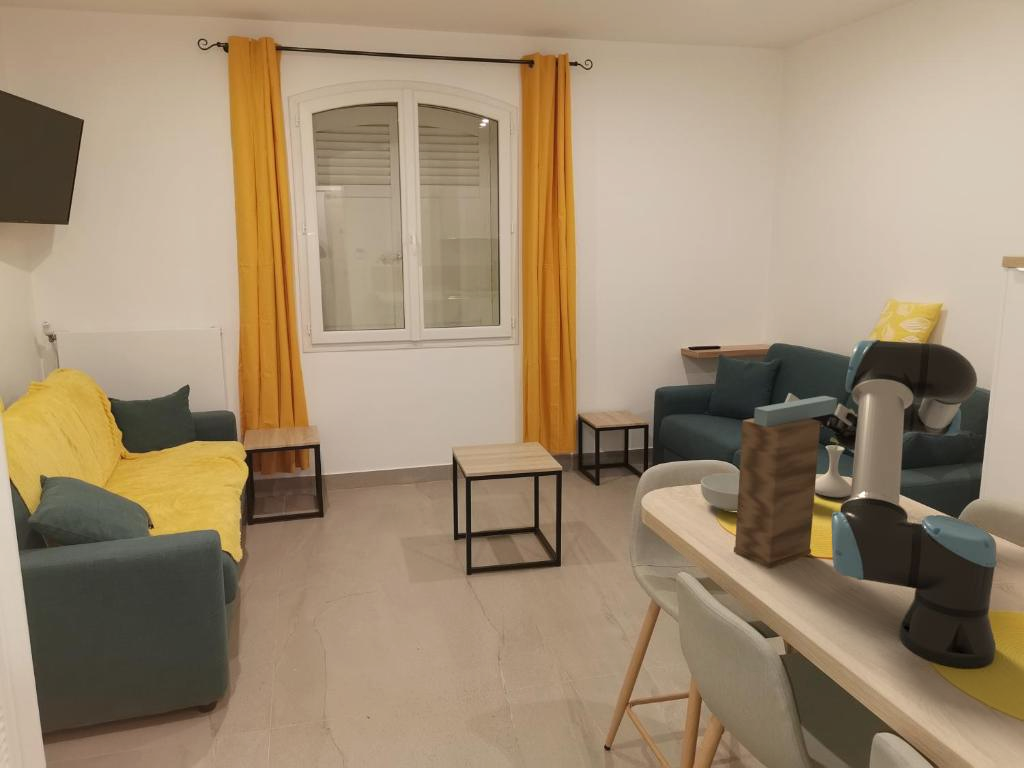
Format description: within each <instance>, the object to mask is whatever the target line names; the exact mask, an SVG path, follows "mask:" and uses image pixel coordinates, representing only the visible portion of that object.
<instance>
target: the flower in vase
mask: <svg viewBox="0 0 1024 768" xmlns="http://www.w3.org/2000/svg"><path fill="white" fill-rule="evenodd" d="M846 408H847V407H846ZM847 409H848V410H850V411H851V412H852V413H854V414H855V415H856V416H857V414H858V413H857V414H856V413H855V411H854V410H853V408H847ZM829 441H830V442H833V443H836V445H826V446H825V449H826V450H827V452H828V456H829V466H828V467H829V468H828V471H827V472H826V473H824V474H823V475H822V476H820V477H818V478H816V482H815V494H816V493H817V494H819V495H821V496H824V497H829V498H846V497H850V495H851V485H852V484H850V483H849V482H848V481H847V480H846V479H844V478H843V477H842V476H841V474H840V472H839V463H840V461H839V460H840V459H841V458H840V457H841V455H842V453H843V452H844V451H845V449H846V448H845V447H844V446H842V445H841V446H840V445H839V444H840V443H839V442H838V441H837V439H836V437H833V436H831V437H830V438H829Z"/></svg>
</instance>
